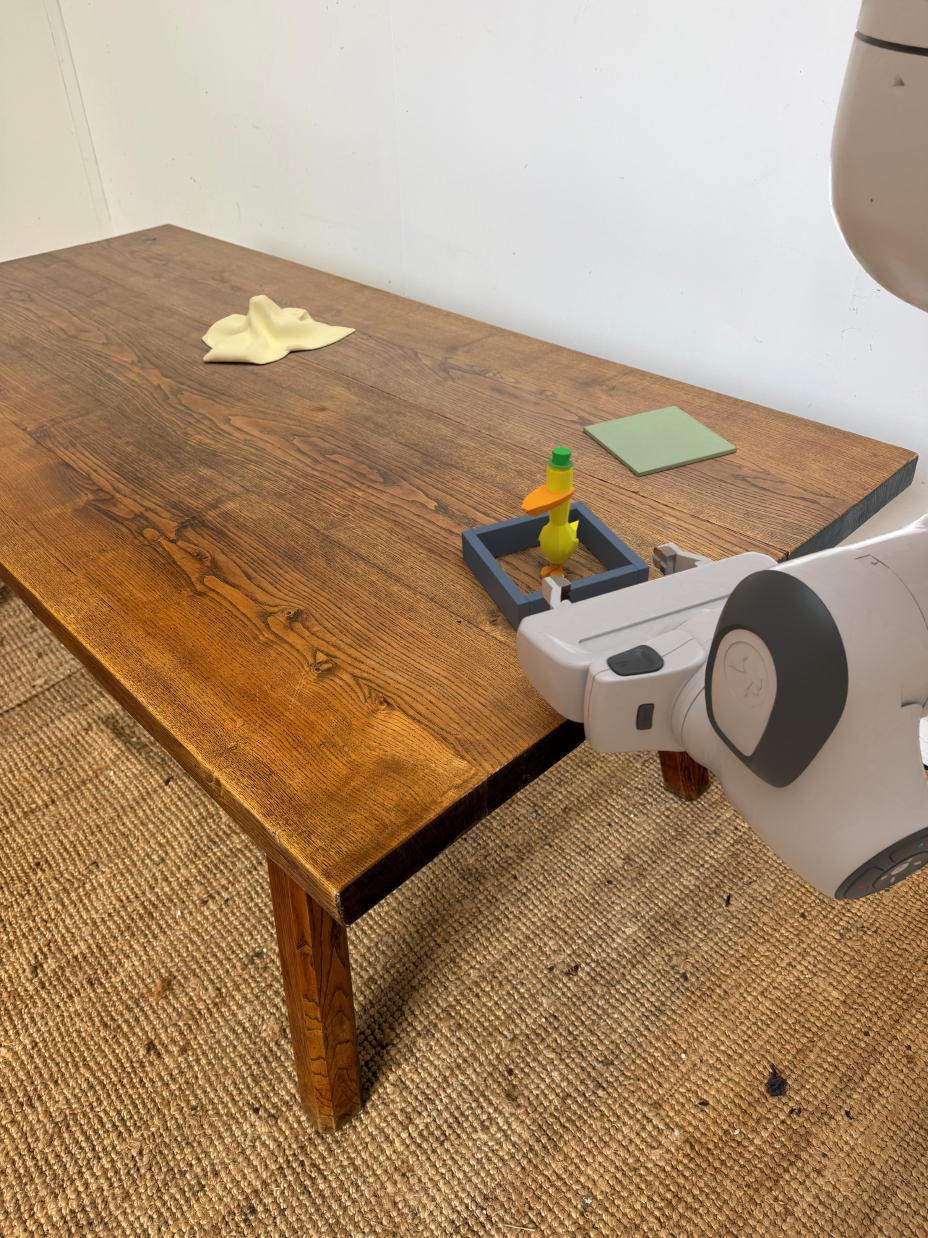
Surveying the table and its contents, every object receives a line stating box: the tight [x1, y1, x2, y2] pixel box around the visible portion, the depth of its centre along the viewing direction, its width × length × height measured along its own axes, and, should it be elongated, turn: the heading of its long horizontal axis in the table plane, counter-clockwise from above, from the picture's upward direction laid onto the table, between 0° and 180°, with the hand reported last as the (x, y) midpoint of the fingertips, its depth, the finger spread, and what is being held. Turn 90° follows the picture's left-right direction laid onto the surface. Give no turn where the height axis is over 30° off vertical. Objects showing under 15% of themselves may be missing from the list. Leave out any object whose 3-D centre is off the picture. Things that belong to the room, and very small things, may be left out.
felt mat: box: [582, 405, 738, 477], centre depth 96 cm, size 12×12×1 cm
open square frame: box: [460, 500, 650, 632], centre depth 76 cm, size 12×12×3 cm
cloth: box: [201, 294, 356, 365], centre depth 126 cm, size 22×19×6 cm
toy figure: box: [520, 446, 580, 580], centre depth 74 cm, size 7×4×12 cm, turn 133°
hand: (606, 567), depth 66 cm, fingers open, 8 cm apart
